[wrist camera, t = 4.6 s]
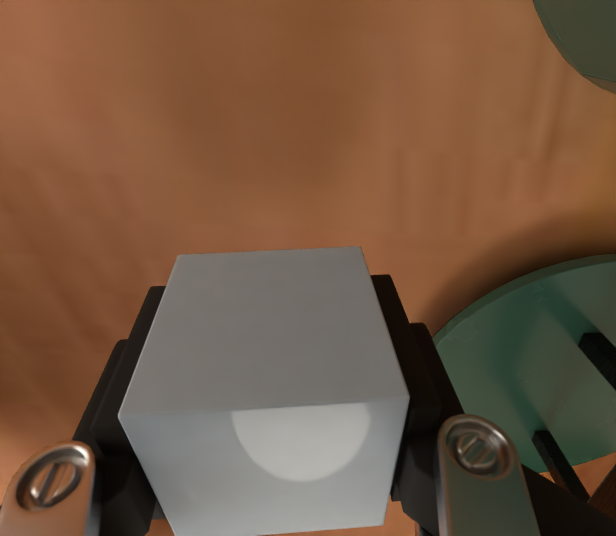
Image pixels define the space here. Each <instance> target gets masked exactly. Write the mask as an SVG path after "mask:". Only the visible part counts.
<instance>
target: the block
mask: <svg viewBox="0 0 616 536" xmlns="http://www.w3.org/2000/svg"><path fill="white" fill-rule="evenodd" d="M409 400H410V395H409V392H408V389H407V386H406V383H405V380H404V377H403V374H402V371H401V368H400V365H399V362H398V358H397V355H396V352H395V349H394V346H393V343H392V340H391V337H390V334H389V331H388V328H387V325H386V322H385V319H384V316H383V313H382V310H381V307H380V304H379V301H378V297H377V294H376V291H375V288H374V285H373V282H372V279H371V276H370V273H369V270H368V267H367V264H366V261H365V258H364V255H363V252H362V249H361V247H360V246H351V247H331V248H310V249H289V250H268V251H247V252H226V253H205V254H184V255H178V256H177V259H176V262H175V264H174V267H173V270H172V272H171V275H170V278H169V280H168V283H167V286H166V288H165V291H164V294H163V296H162V299H161V302H160V304H159V307H158V309H157V312H156V315H155V317H154V320H153V323H152V325H151V328H150V331H149V333H148V336H147V339H146V341H145V344H144V347H143V349H142V352H141V355H140V357H139V360H138V363H137V365H136V368H135V371H134V373H133V376H132V379H131V381H130V384H129V386H128V389H127V392H126V394H125V397H124V400H123V402H122V405H121V408H120V410H119V413H118V419H119V421H120V423H121V425H122V427H123V429H124V431H125V433H126V435H127V437H128V439H129V441H130V443H131V445H132V448H133V450H134V452H135V454H136V456H137V458H138V460H139V462H140V464H141V466H142V468H143V470H144V472H145V474H146V476H147V479H148V481H149V483H150V485H151V487H152V489H153V491H154V493H155V495H156V497H157V499H158V501H159V503H160V505H161V507H162V510H163V512H164V514H165V516H166V518H167V520H168V522H169V524H170V526H171V528H172V530H173V532H174V534H175V536H256V535H268V534H281V533H294V532H307V531H319V530H332V529H345V528H358V527H370V526H382V525H383V524H384V520H385V515H386V510H387V505H388V500H389V496H390V491H391V486H392V481H393V476H394V472H395V467H396V462H397V457H398V452H399V448H400V443H401V438H402V433H403V428H404V424H405V419H406V414H407V409H408V404H409Z"/></svg>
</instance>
